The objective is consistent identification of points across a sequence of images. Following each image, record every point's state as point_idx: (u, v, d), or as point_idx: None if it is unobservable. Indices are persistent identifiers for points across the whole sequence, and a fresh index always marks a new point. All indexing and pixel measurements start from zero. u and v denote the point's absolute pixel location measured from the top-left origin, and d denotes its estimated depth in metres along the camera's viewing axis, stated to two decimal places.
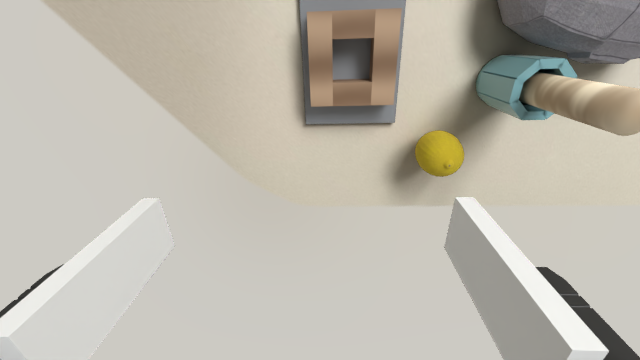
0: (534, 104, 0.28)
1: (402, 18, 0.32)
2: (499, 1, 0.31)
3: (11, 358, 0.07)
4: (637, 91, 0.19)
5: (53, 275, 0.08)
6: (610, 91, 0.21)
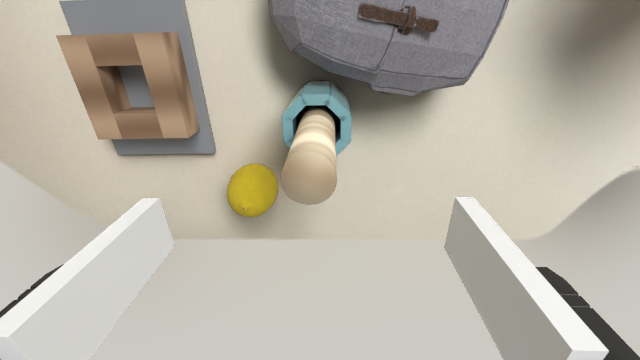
0: None
1: (187, 41, 0.28)
2: None
3: (11, 358, 0.07)
4: (299, 155, 0.15)
5: (53, 275, 0.08)
6: (293, 150, 0.17)
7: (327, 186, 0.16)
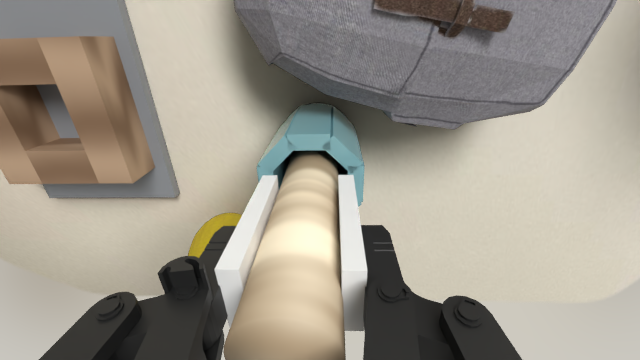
0: None
1: (128, 48, 0.20)
2: None
3: (230, 290, 0.09)
4: (262, 315, 0.07)
5: (236, 230, 0.10)
6: (256, 279, 0.08)
7: None
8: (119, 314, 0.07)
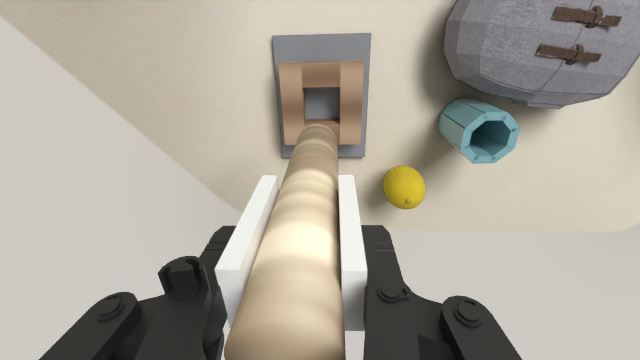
0: None
1: (367, 67, 0.35)
2: (445, 55, 0.34)
3: (230, 290, 0.09)
4: (262, 317, 0.07)
5: (236, 230, 0.10)
6: (256, 280, 0.08)
7: None
8: (119, 314, 0.07)
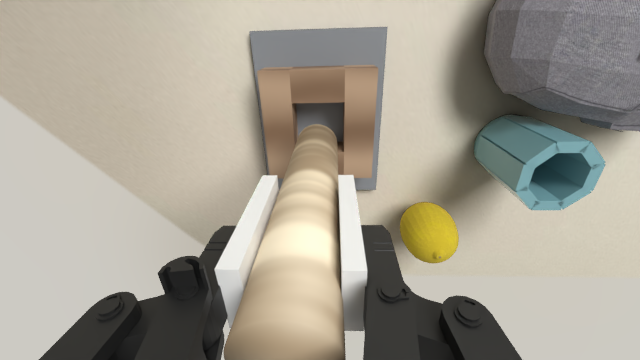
0: None
1: (381, 73, 0.26)
2: (488, 60, 0.25)
3: (230, 290, 0.09)
4: (262, 318, 0.07)
5: (236, 230, 0.10)
6: (256, 281, 0.08)
7: None
8: (119, 314, 0.07)
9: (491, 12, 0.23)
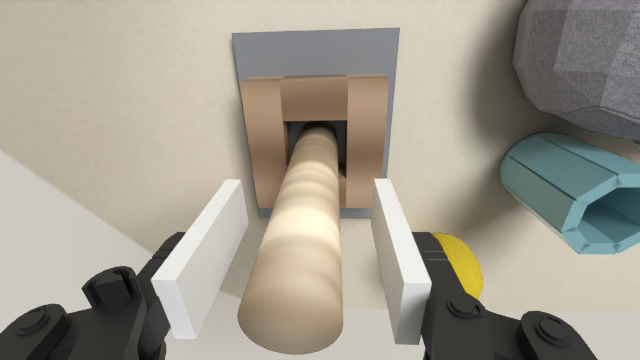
0: None
1: (392, 84, 0.21)
2: (518, 70, 0.20)
3: (170, 300, 0.09)
4: (271, 283, 0.08)
5: (184, 237, 0.10)
6: (265, 255, 0.09)
7: (325, 331, 0.09)
8: (44, 325, 0.07)
9: (523, 13, 0.19)
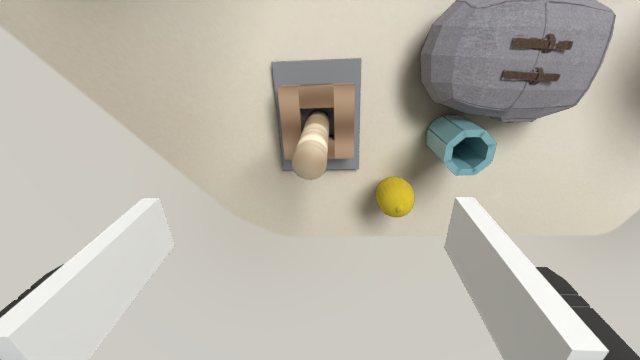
0: None
1: (359, 88, 0.39)
2: None
3: (11, 358, 0.07)
4: (303, 147, 0.25)
5: (53, 275, 0.08)
6: (299, 145, 0.27)
7: (320, 167, 0.26)
8: None
9: None
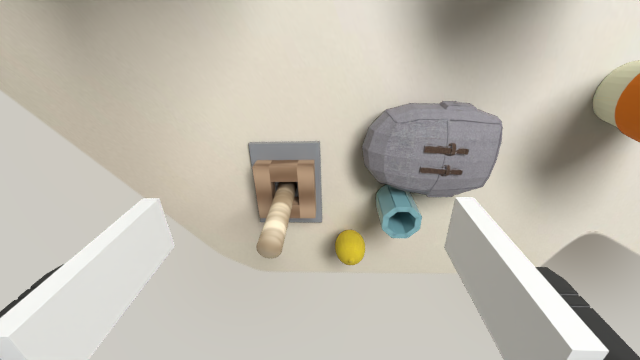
0: None
1: (319, 163, 0.48)
2: None
3: (11, 358, 0.07)
4: (264, 238, 0.35)
5: (53, 275, 0.08)
6: (263, 233, 0.36)
7: (277, 250, 0.36)
8: None
9: None
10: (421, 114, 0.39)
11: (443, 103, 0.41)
